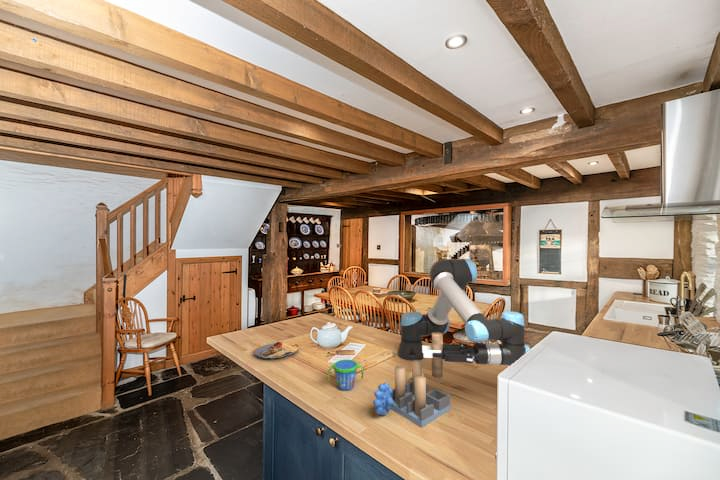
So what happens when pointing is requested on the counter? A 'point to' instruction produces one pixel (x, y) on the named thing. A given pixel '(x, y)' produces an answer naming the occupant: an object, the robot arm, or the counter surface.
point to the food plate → (273, 351)
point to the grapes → (383, 399)
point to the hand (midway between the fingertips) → (423, 351)
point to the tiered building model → (411, 376)
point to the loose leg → (437, 362)
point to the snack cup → (345, 373)
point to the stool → (418, 397)
